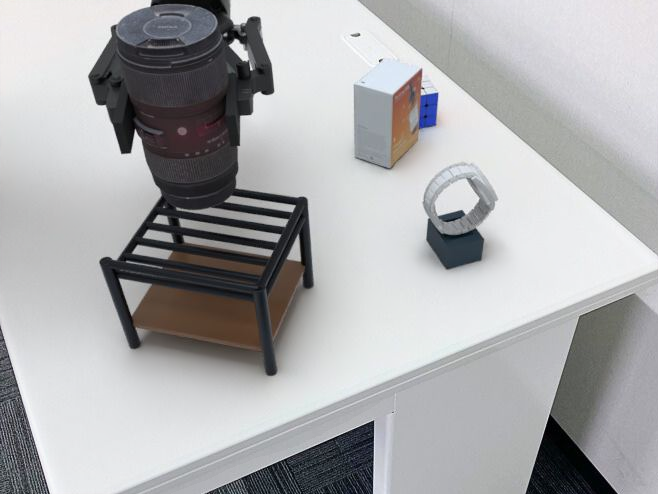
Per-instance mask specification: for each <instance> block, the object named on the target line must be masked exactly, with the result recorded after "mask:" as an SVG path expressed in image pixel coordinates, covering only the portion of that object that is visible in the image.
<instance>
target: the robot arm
mask: <svg viewBox="0 0 658 494" xmlns="http://www.w3.org/2000/svg"><path fill="white" fill-rule="evenodd" d="M164 4H182V5H192V6H195V7H201V8H204V9H206V10H208V11H209V12H211V13H212V14H213V15H214V16H215V17H216V18H217V21H218V26H219V30H220V32H221V34H222V36H223V42H224V49H225V56H226V63H227V69H228V89H227V91H226V122H227V128H228V134H229V140H230V147H233V146H237V147H241V117H243V116H252V114H253V113H254V96H255V95H256V94H258V93H260V94H261V95H262V96H272V95H273V94H274V93H275V81H274V72H273V71H274V70H273V64H272V61H271V59H270V56H269V54H268V51H267V48H266V46H265V44H264V37H263V27H262V18H261V17H260V16H254V15H253V16H249V17H248V18H247V20H246V22H242V23H240V24H234V23H235V22H234V21H233V20H232V19H231V6H232V0H151V1H150V5H149V7H152V6H155V5H164ZM117 24H118V23H116V24H113V25H111V26H110V34H111V37H110V38H109V40H108V41H107V43H106V45H105V47H104V48H103V50H102V51H101V53H100V55H99V56H98V59H97V60H96V61H95V63H94V64H93V67H92V68H91V70H90V72H89V73H88V75H87V79H88V81H89V85H90V88H91V92H92V95H93V98H94V101H95V104H96V105H97V106H105V108H106V111H107V115H108V119H109V122H110V124H111V125H112V128H113V130H114V134H115V137H116V141H117V144H118V148H119V151H120V154H121V155H129V154H131V155H132V150H133V145H134V139H135V133H136V129H135V124H134V120H133V119H134V118H135V117H136V114H135V111H134V107H133V103H132V102H131V100H130V97H129V94H128V91H127V88H126V85H125V81H124V77H123V73H122V69H121V65H120V61H119V57H118V54H117V44H116V40H117V36H116V26H117ZM235 40H236V41H238V43H239V45H242V49H243V51H245V52H247V58H248V59H247V60H243V59H242V57H240V56H239V55H238V54H237V53H236V52H235V50H234V49H233V48H232V47H231V46H230V45H232V44H234V42H235Z"/></svg>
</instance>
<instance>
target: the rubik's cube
mask: <svg viewBox="0 0 658 494" xmlns="http://www.w3.org/2000/svg"><path fill="white" fill-rule="evenodd" d="M438 105H439V91H438V90H437V88H436V87H435V85H434V84H433V83H432V81H431V79H430V78H429V77H428V76H427V75H426V74H422V84H421V99H420V114H419V129H423V128H428V127H434V126H435V127H436V126H437V117H438Z"/></svg>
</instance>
